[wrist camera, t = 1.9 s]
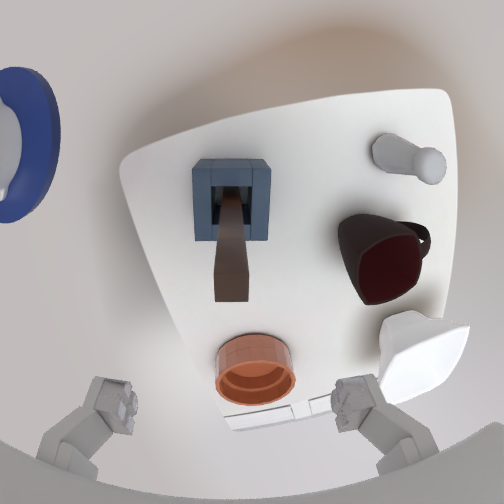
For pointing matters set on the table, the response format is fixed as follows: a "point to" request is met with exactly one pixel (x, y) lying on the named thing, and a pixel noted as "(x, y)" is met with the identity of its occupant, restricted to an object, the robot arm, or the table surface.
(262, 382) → the terracotta round dish
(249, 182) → the box
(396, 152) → the salt shaker
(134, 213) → the table surface
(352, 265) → the mug
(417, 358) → the bowl
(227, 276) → the stirring stick
